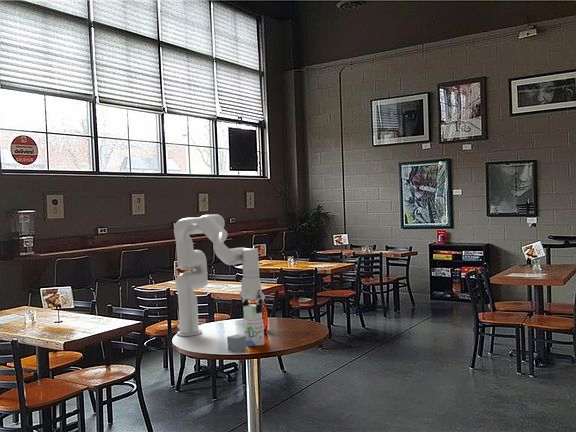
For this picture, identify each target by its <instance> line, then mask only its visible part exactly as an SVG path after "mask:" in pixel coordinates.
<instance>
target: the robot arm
mask: <svg viewBox="0 0 576 432" xmlns="http://www.w3.org/2000/svg"><path fill="white" fill-rule="evenodd" d="M173 233H174V239H175V245H176V246H175V248H176V260H177V261H176V263H177V266H178V268H179V269H180V270H182V271H183V270H185V271H186V270H192V271H186V272H182V273H179V274H178V275H177V276H176V278H175V281H174V283H175V288H176V291H177V298H178V299H177V300H178V301H177V302H178V316H179V317H178V318H179V321H178V322H179V324H178V325H177V326H176V327H177V329H179V330H178V331H177V332H176V335H177V336H178V337H193V336H199V335H200V334H202V332H203V330H202V329H199V311H198V297H197V294H196V293H195V291H196V290H199V289H200V290H201V289H203V288H206V286H207V283H208V280H209V279H208V264H207V262H208V261H207V257H206V253H204V252H203V251H202V250H200V249H194V242H193V239H192V237H191V236H190V235H196V234H197V235H198V234H200V235H201V234H204V235H205V236H206V237H207V238H208V240H210V241H211V242H212V244H213V245H212V246H213V252H214V254H215V255H216V257H217V258H218V260H220V261H221V262H222V263H224V264H226V265H227V266H232V265H233V266H234V265H240V264H242V276H243V277H242V278H241V287H240V289H241V291H240V292H239V296H240V299H241V303H242V306H248V305H250V302H249V300H250V301H255V303H256V304H255V305H256V313H262V305H263V304H264V302H265V298H266V295H265V293H264V292H262V290H263V289H262V283H261V278H260V264H259V250H258V249H257V248H255V247H254V248H253V247H252V248H251V247H250V248H247V247H234V248H229V247H228V246H226V244H225V243H224V242H225V241H226V239H227V238H228V231H227V230H226V229H225V219H224V217H223V216H222V215H220V214H217V213H216V214H204V215H201V216H199V217H184V218H181V219H179V220H177V221H176V222H175V224H174V228H173ZM194 290H195V291H194ZM243 312H244V310H243Z"/></svg>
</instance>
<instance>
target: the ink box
mask: <svg viewBox="0 0 576 432" xmlns="http://www.w3.org/2000/svg"><path fill="white" fill-rule="evenodd" d="M243 336H246V347H253V346H256V347H257V346H265V331H264V323H263V319H257V320H253V321H251V320H246V319H244V317H243Z"/></svg>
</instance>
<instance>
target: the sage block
mask: <svg viewBox="0 0 576 432" xmlns="http://www.w3.org/2000/svg"><path fill="white" fill-rule="evenodd" d="M256 305H257V304H249V305H248V306H243V305H242V306H243V310H244V311H243V318H244V319H246V320H251V321H253V320H257V319H262V313H256Z"/></svg>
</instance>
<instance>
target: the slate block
mask: <svg viewBox="0 0 576 432" xmlns="http://www.w3.org/2000/svg"><path fill="white" fill-rule="evenodd" d="M226 340H227V350H228V351H231V352H233V353H234V352H235V353H238V352H241V351H244V350H245V351H246V350H247V347H248V346H246V336H244V334H239V333H238V334H233V335H230V336H227V337H226Z"/></svg>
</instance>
